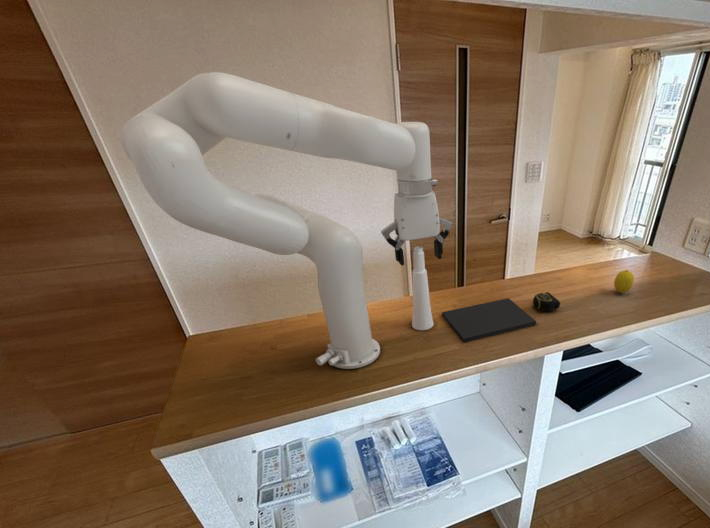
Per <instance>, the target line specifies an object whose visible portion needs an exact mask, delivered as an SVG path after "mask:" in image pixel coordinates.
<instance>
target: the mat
mask: <svg viewBox="0 0 710 528" xmlns="http://www.w3.org/2000/svg"><path fill="white" fill-rule="evenodd" d="M441 316H442V317H443V319H444V320H445V321H446V323H447V324H448V325H449V326H450V327H451V329H452V330H453V331H454V332H455V334H456V335H457V336H458V338H459V339H460V340H461V341H462V343H467V342H471V341H475V340H479V339H483V338H484V339H485V338H488V337H491V336H495V335H500V334H504V333H507V332H512V331H516V330H519V329H524V328H528V327H531V326H536V323H537V320H535V319H534V318H533V317H532V316H531V315H530V314H529V313H528V312H526V311H525V310H524V309H522V308H521V307H520V306H519V305H517V303H515V302H514V301H513V300H512V299H511V298H509V297H507V298H503V299H498V300H494V301H493V300H492V301H488V302H484V303H478V304H474V305H470V306H465V307H459V308H456V309H455V308H454V309H450V310H446V311H441Z"/></svg>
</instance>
